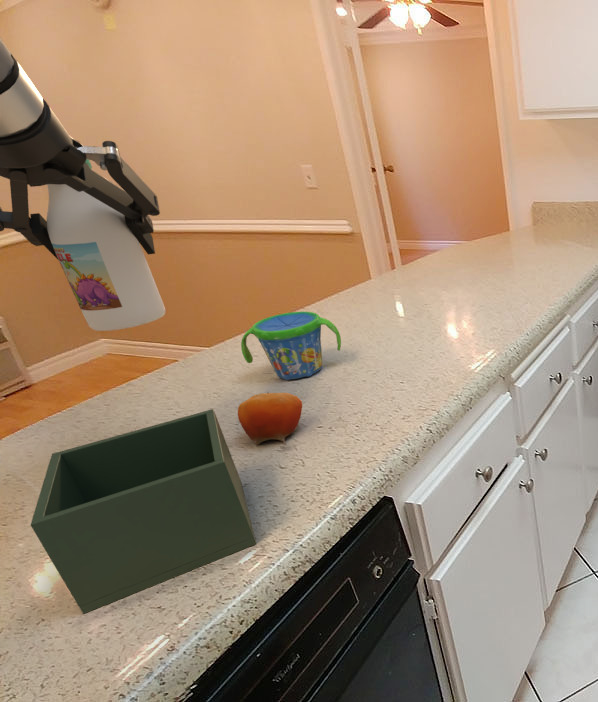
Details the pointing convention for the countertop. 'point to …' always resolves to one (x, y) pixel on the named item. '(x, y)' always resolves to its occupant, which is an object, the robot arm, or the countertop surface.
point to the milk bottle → (101, 261)
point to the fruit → (270, 416)
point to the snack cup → (291, 343)
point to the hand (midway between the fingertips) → (109, 250)
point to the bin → (141, 508)
